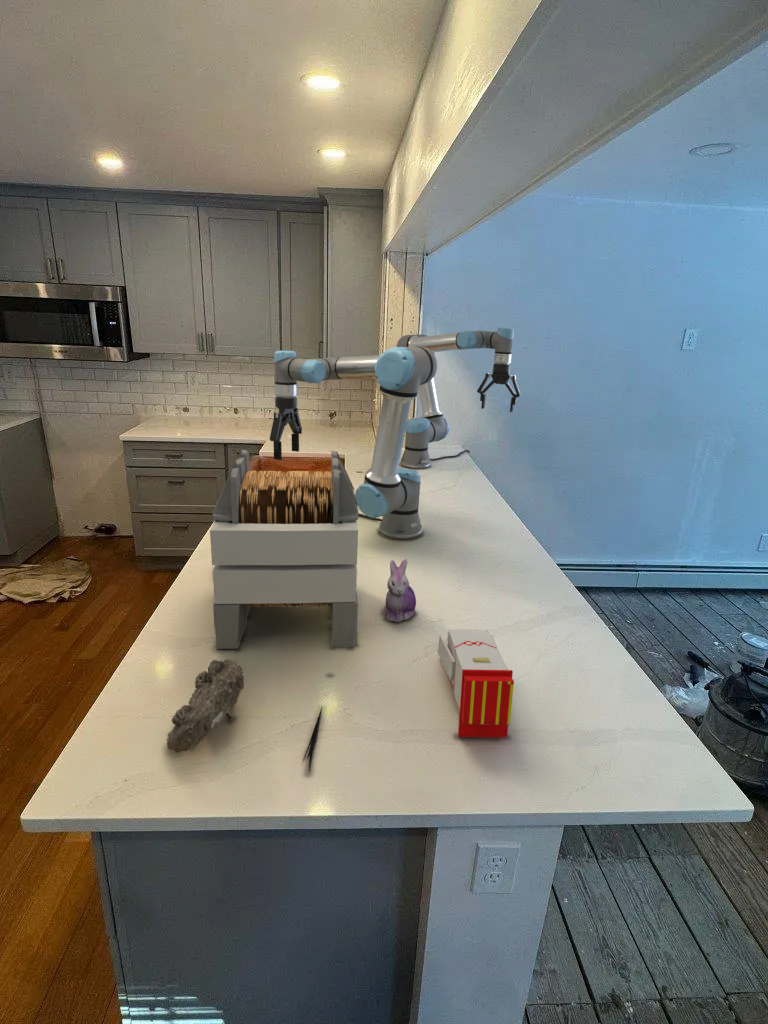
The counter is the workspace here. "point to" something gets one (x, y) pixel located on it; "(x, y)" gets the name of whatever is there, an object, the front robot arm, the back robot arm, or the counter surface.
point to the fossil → (206, 705)
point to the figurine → (399, 594)
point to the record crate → (285, 547)
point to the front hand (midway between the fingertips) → (286, 455)
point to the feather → (313, 740)
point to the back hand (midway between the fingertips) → (496, 410)
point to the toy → (478, 682)
